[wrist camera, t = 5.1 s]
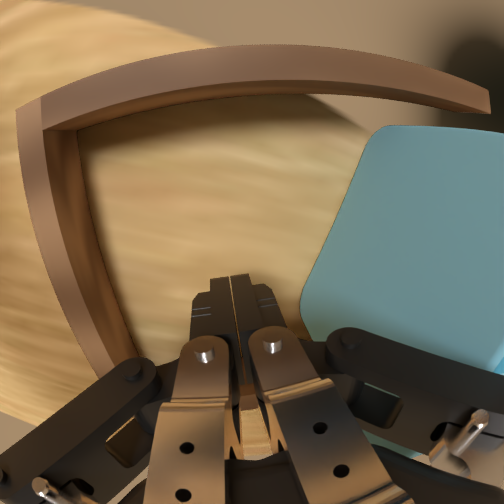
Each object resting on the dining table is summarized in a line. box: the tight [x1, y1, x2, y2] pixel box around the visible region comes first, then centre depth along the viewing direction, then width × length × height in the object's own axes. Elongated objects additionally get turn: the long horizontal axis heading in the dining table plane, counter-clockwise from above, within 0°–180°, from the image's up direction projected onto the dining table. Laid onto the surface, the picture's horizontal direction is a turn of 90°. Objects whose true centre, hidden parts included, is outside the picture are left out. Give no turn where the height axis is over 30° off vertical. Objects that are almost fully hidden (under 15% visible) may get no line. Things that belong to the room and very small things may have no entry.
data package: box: [300, 125, 504, 458], centre depth 10 cm, size 12×4×12 cm, turn 159°
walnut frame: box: [16, 45, 491, 417], centre depth 14 cm, size 19×26×4 cm
